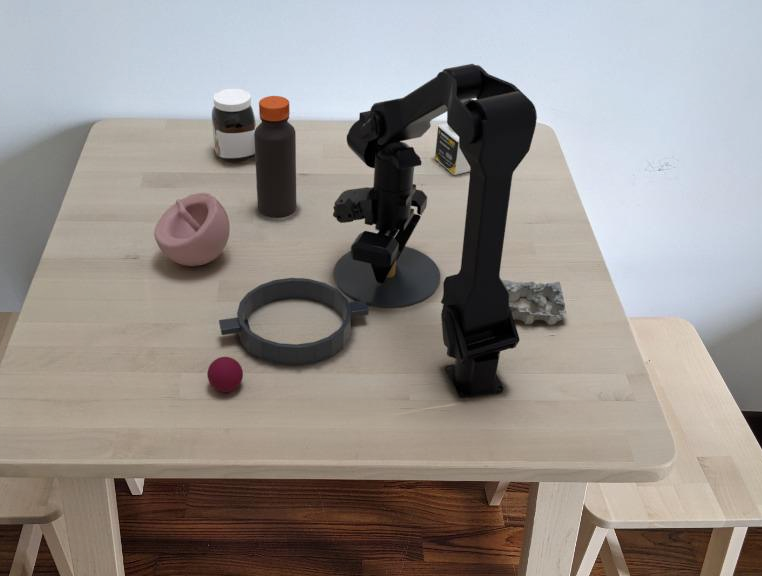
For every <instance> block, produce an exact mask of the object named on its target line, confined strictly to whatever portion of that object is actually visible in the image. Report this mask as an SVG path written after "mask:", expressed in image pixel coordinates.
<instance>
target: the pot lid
mask: <svg viewBox="0 0 762 576" xmlns="http://www.w3.org/2000/svg"><path fill="white" fill-rule="evenodd" d="M333 279H334V283H335V284H336V286H337V289H338V290H339V291H340V292H341V293H342V294H343V295H344V296H346V297H348V298H350V299H351V300H354V302H356V301H365V302H366V305H367V306H371V307H377V308H384V309H385V308H386V309H390V308H391V309H393V308H395V309H396V308H404V307H410V306H414V305H417V304H419V303H422V302H423V301H425V300H427V299H429V298H430V297H432V295H434V294H435V293H436V292H437V290H438V288H439V286H440V284H441V271H440V269H439V267H438V265H437V264H436V262H435V261H434V260H433V258H431V257H429V256H428V255H427V254H425V253H423V252H421V251H419V250H417V249H415V248H412V247H409V246H406V245H405V247H404V249H403V251H402V252H401V254H400V256H399V258H398V260H397V261H395V262H394V264H393V266H392V268H391V270H390V272H389V274H388V276H387V277H386V279H385V281H384V283H378V282H377V281H376V278H375V275H374V272H373V269H372V266H371V264H370V263H366V262H362V261H357V260H353V259H352V258H351V250H350V251H348V252H346V253H345V254H343V255H342V256H341V257H340V258H339V259H338V261H336V263H335V265H334V269H333Z"/></svg>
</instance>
